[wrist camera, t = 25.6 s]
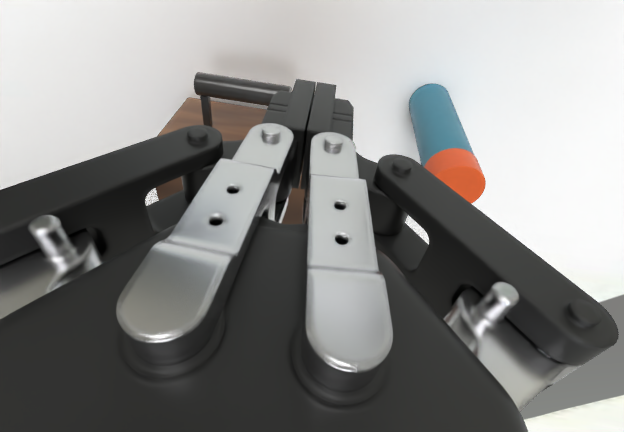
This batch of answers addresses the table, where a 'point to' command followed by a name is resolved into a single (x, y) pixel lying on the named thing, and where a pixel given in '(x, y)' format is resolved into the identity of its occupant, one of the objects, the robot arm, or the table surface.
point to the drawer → (224, 105)
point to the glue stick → (444, 142)
